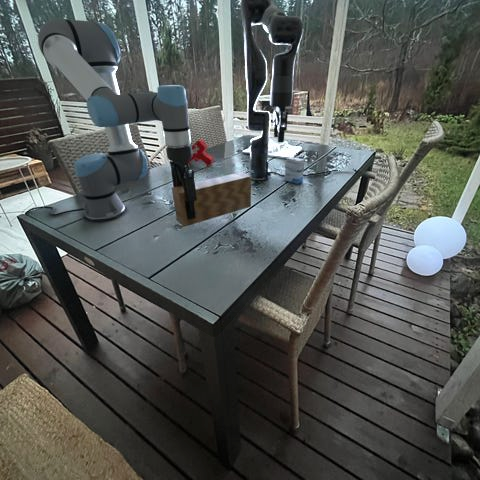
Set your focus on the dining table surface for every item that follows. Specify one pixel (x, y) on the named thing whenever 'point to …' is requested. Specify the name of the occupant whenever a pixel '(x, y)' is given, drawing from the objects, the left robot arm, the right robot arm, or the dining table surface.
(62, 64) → the left robot arm
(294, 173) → the ink box
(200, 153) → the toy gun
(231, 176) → the box
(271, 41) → the right robot arm
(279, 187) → the dining table surface
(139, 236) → the dining table surface
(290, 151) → the relief map
